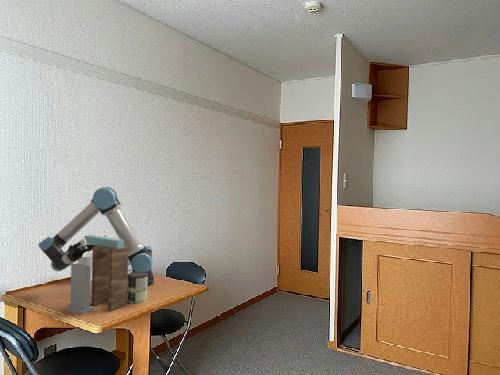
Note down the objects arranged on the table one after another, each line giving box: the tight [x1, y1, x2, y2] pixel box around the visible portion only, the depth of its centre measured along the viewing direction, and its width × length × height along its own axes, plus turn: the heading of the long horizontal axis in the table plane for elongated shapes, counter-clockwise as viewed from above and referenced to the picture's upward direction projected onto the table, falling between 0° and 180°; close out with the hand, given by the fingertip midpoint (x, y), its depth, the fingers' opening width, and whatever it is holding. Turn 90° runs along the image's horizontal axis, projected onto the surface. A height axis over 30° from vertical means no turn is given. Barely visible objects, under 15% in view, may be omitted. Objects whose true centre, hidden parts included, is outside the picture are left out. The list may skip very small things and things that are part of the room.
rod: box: [84, 234, 124, 249], centre depth 191 cm, size 24×4×4 cm, turn 62°
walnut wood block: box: [90, 246, 128, 312], centre depth 189 cm, size 14×10×30 cm
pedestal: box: [64, 262, 95, 315], centre depth 181 cm, size 12×7×22 cm, turn 62°
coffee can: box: [127, 272, 148, 304], centre depth 199 cm, size 10×10×14 cm
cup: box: [77, 252, 93, 282], centre depth 233 cm, size 12×12×16 cm
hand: (96, 238), depth 193 cm, fingers open, 13 cm apart
